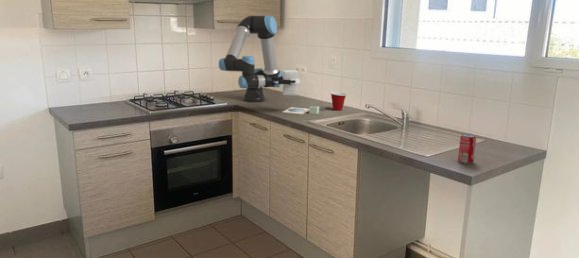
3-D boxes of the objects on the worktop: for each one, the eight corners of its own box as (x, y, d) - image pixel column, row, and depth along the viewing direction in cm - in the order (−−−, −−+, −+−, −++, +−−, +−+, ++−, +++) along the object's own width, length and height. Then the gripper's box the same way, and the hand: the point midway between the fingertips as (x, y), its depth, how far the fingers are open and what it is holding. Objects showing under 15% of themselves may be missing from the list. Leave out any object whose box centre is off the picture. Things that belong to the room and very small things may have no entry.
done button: (311, 111, 285) (311, 105, 284) (319, 112, 283) (319, 106, 282) (309, 113, 280) (309, 106, 279) (316, 114, 279) (317, 107, 278)
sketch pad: (291, 108, 296) (291, 107, 296) (309, 110, 292) (309, 108, 292) (282, 113, 282) (282, 111, 282) (301, 115, 278) (301, 113, 277)
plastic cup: (345, 112, 286) (346, 94, 283) (328, 111, 288) (329, 93, 286) (346, 109, 297) (347, 91, 294) (330, 108, 299) (331, 91, 296)
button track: (313, 110, 293) (313, 106, 292) (324, 111, 290) (324, 107, 290) (306, 114, 280) (306, 110, 279) (318, 115, 277) (318, 111, 277)
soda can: (455, 162, 189) (458, 135, 186) (460, 158, 194) (463, 132, 191) (470, 165, 186) (473, 137, 183) (475, 161, 190) (478, 134, 187)
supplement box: (297, 95, 278) (297, 71, 274) (283, 95, 278) (283, 71, 274) (296, 93, 287) (297, 70, 283) (282, 93, 287) (283, 69, 283)
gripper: (257, 84, 285) (288, 83, 293) (270, 90, 264) (303, 88, 272) (257, 73, 283) (288, 71, 291) (270, 77, 262) (303, 76, 270)
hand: (295, 79), depth 282 cm, fingers closed on supplement box, 11 cm apart
